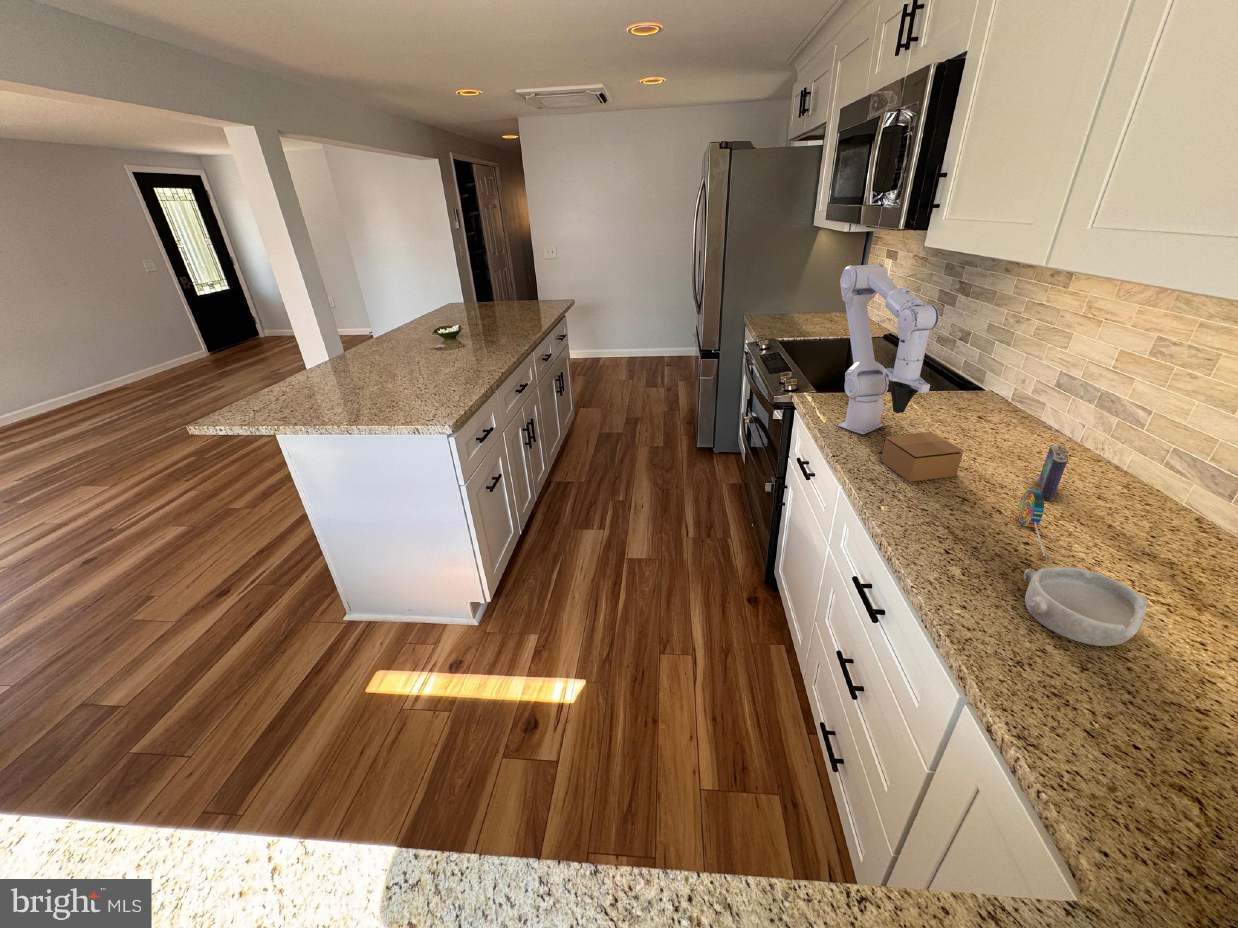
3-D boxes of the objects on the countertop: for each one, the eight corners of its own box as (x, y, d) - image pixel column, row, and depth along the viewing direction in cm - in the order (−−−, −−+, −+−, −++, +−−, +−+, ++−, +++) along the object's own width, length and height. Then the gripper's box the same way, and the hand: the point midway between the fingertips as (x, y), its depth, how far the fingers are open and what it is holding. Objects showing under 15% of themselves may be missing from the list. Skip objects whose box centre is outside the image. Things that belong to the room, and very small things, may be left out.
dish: (1137, 612, 79) (1151, 587, 76) (1137, 668, 70) (1153, 642, 67) (1022, 574, 87) (1032, 550, 85) (1009, 620, 78) (1019, 595, 76)
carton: (880, 460, 126) (886, 436, 123) (924, 455, 127) (930, 431, 124) (909, 481, 116) (915, 455, 113) (956, 476, 118) (963, 450, 115)
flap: (886, 437, 123) (886, 436, 123) (930, 433, 124) (931, 431, 124) (899, 447, 118) (900, 445, 118) (945, 442, 120) (946, 440, 119)
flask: (1036, 480, 115) (1052, 436, 110) (1052, 483, 113) (1069, 439, 108) (1039, 498, 108) (1056, 453, 103) (1056, 502, 106) (1075, 456, 101)
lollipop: (1031, 566, 94) (1015, 506, 104) (1040, 567, 93) (1023, 507, 103) (1048, 543, 89) (1029, 482, 99) (1058, 544, 89) (1038, 483, 98)
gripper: (875, 352, 126) (866, 403, 132) (914, 367, 113) (902, 424, 119) (901, 350, 127) (891, 401, 133) (943, 365, 114) (929, 421, 120)
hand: (898, 412), depth 126 cm, fingers closed
